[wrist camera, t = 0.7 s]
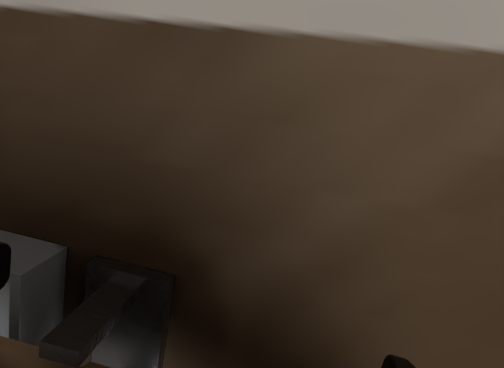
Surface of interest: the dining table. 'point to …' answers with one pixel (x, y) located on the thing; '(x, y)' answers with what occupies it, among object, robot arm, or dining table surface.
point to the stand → (115, 318)
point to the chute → (31, 357)
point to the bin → (32, 288)
